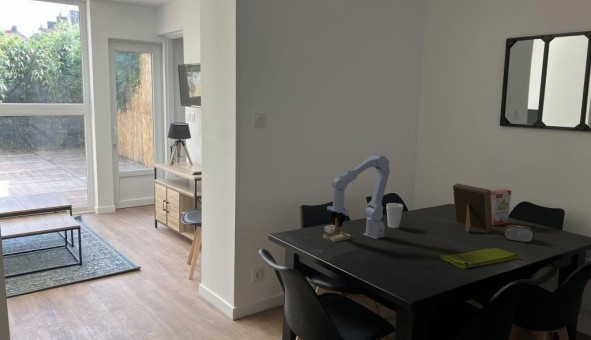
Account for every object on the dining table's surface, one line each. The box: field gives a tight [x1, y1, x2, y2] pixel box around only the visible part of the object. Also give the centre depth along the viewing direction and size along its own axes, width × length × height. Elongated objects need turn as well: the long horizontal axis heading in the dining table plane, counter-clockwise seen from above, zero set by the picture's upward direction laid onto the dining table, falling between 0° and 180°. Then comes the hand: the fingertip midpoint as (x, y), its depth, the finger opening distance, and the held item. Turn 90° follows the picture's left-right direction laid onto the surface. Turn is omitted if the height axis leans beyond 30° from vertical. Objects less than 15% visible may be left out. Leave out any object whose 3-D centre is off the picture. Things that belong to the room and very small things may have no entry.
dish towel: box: [439, 247, 519, 269], centre depth 224 cm, size 15×36×3 cm, turn 116°
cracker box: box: [489, 188, 512, 227], centre depth 287 cm, size 14×6×21 cm, turn 120°
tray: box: [322, 231, 353, 243], centre depth 249 cm, size 10×12×2 cm
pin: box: [334, 217, 341, 233], centre depth 248 cm, size 3×3×8 cm
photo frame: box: [452, 183, 493, 234], centre depth 273 cm, size 15×22×25 cm
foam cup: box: [385, 202, 404, 229], centre depth 274 cm, size 10×9×13 cm
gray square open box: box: [323, 224, 342, 233], centre depth 260 cm, size 6×6×3 cm
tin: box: [503, 224, 536, 243], centre depth 253 cm, size 15×3×8 cm, turn 65°
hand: (337, 226), depth 248 cm, fingers closed on pin, 3 cm apart
